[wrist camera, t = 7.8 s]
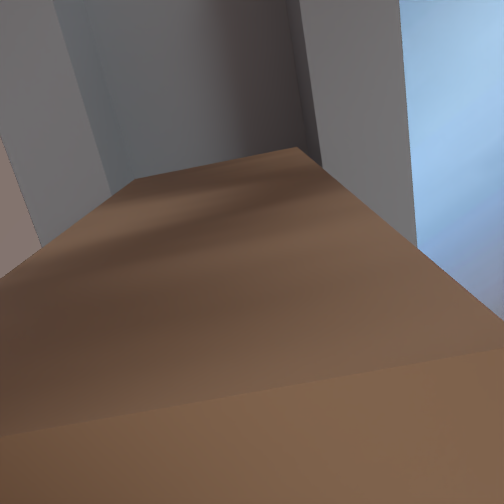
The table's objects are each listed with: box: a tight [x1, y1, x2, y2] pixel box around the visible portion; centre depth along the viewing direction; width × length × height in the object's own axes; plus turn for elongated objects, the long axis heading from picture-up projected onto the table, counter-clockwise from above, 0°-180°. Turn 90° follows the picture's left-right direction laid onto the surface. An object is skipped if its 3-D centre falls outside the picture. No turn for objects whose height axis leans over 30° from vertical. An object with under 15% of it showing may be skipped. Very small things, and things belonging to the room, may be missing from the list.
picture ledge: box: [0, 0, 417, 248], centre depth 15 cm, size 10×24×4 cm, turn 11°
